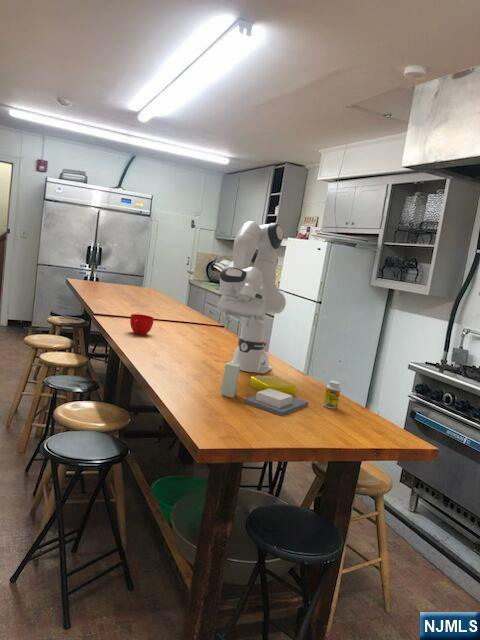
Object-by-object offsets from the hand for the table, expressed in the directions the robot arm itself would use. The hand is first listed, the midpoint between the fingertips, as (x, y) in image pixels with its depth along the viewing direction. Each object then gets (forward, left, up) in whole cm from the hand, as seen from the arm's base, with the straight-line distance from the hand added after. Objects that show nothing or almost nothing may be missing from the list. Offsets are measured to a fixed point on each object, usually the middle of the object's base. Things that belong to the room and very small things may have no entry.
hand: (236, 323), depth 202 cm
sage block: (+12, +9, -26) cm, 30 cm away
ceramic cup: (-37, -85, -26) cm, 96 cm away
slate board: (+4, +26, -26) cm, 37 cm away
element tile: (-13, +15, -26) cm, 33 cm away
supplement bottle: (-15, +40, -26) cm, 50 cm away
